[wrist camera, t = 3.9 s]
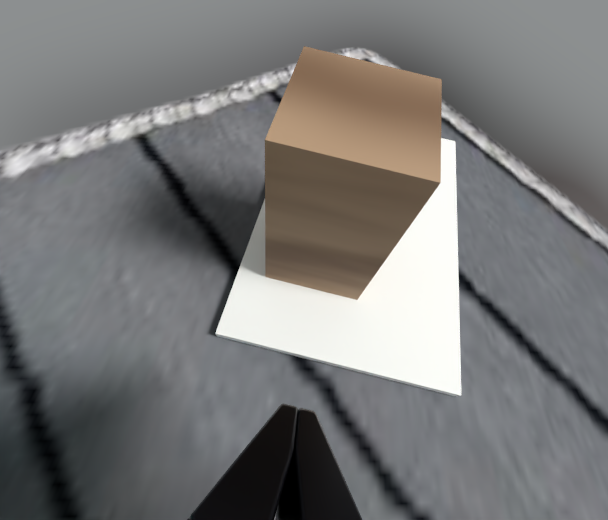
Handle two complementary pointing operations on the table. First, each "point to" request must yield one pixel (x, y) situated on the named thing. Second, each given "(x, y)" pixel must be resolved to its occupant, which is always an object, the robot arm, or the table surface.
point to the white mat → (367, 304)
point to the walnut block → (347, 169)
